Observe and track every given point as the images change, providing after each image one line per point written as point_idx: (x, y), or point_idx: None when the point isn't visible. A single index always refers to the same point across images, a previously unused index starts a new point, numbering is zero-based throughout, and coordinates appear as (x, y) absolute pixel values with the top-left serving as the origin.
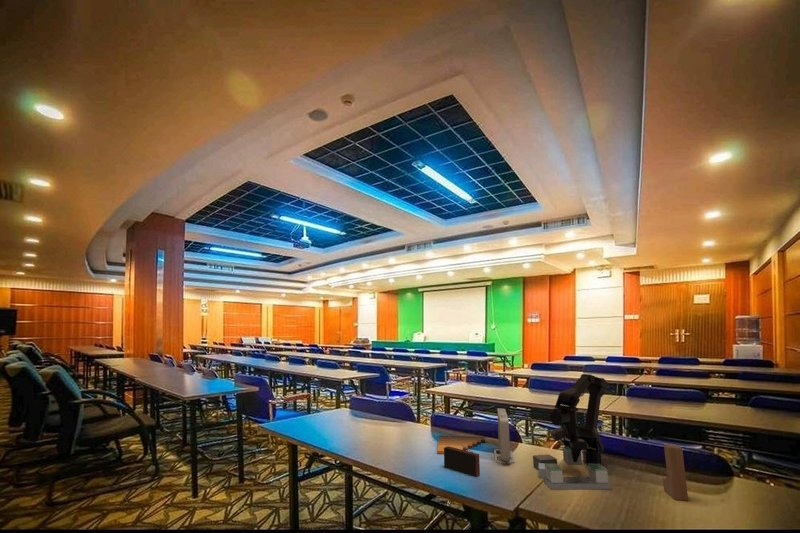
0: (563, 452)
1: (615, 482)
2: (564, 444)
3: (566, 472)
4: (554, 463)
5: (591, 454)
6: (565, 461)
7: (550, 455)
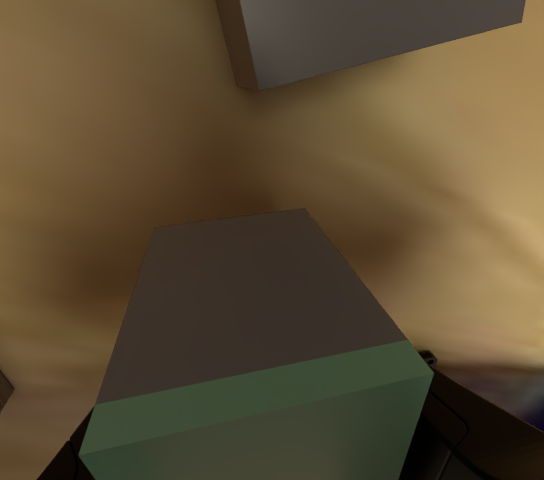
0: (332, 285)
1: (51, 450)
2: (518, 456)
3: (196, 176)
4: (233, 27)
5: None
6: (238, 225)
7: (470, 24)
